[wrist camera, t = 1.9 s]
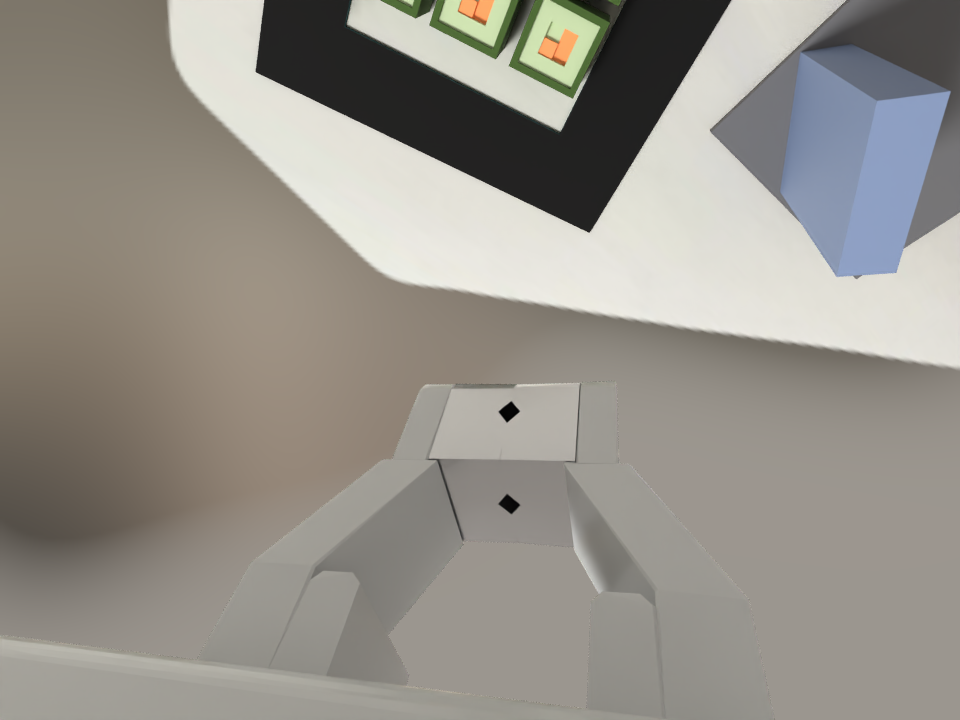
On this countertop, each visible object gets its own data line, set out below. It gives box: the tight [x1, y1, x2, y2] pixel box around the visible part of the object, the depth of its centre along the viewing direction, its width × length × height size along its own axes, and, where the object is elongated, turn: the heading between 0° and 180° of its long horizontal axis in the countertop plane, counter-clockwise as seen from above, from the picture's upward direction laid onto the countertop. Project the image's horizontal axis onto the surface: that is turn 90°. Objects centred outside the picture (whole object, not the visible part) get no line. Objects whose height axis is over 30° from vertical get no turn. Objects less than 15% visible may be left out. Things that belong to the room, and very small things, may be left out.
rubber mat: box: [710, 0, 960, 279], centre depth 31 cm, size 16×15×1 cm
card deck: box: [780, 44, 951, 277], centre depth 28 cm, size 3×8×11 cm, turn 10°
